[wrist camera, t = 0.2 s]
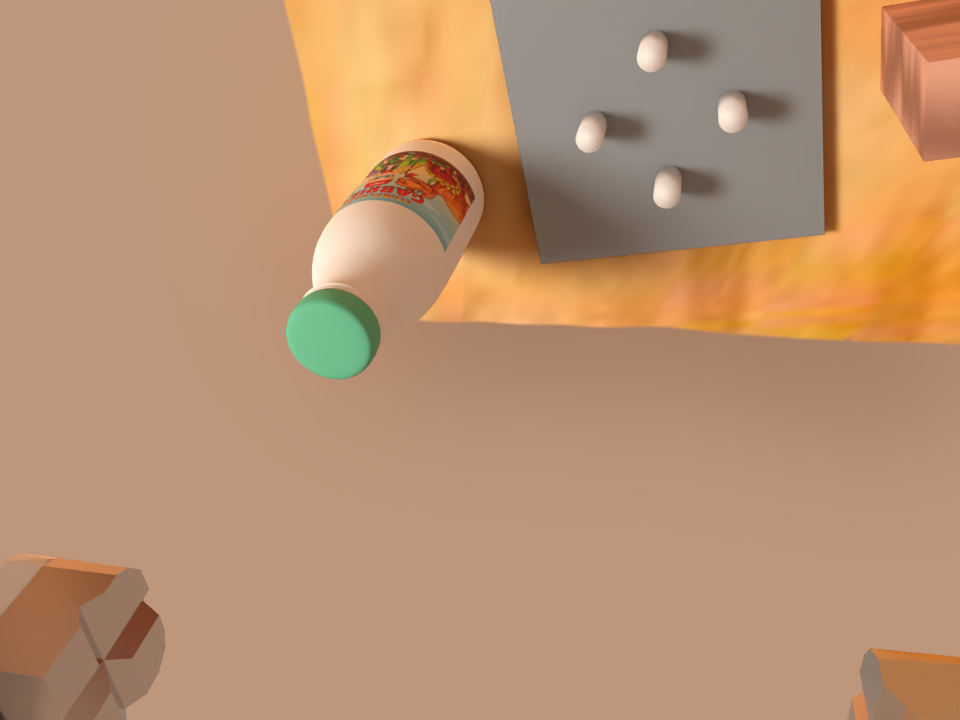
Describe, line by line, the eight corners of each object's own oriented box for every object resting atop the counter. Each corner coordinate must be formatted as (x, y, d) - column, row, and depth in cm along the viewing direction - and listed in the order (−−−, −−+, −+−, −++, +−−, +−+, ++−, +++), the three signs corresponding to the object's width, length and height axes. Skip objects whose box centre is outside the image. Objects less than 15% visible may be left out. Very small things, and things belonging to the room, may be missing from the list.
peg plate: (490, -20, 51) (475, -7, 48) (816, -86, 46) (825, -77, 43) (543, 257, 60) (534, 284, 57) (822, 228, 55) (830, 255, 52)
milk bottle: (506, 218, 59) (431, 381, 43) (412, 259, 63) (310, 425, 46) (450, 116, 56) (347, 249, 40) (355, 165, 60) (223, 306, 43)
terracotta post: (881, 6, 48) (928, 62, 38) (973, -9, 47) (1046, 44, 37) (880, 89, 50) (924, 161, 40) (968, 76, 49) (1035, 148, 39)
